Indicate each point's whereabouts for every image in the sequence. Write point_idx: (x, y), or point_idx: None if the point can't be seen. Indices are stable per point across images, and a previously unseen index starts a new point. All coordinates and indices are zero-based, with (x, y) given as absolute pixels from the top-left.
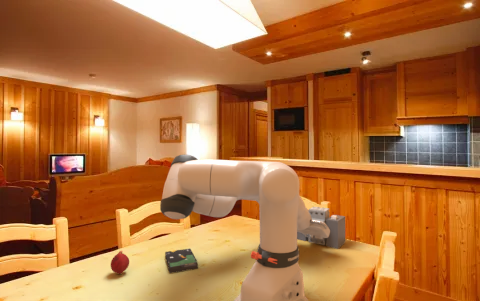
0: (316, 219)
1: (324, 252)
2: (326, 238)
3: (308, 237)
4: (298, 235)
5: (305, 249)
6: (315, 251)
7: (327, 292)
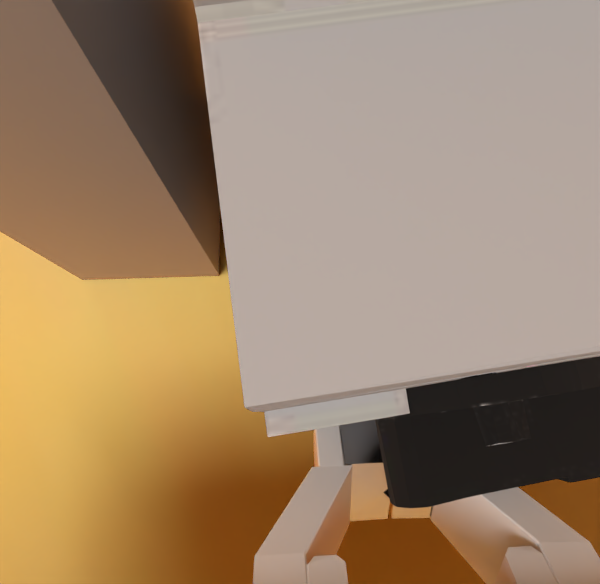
0: (559, 42)
1: None
2: None
3: (216, 181)
4: (99, 260)
5: (353, 551)
6: None
7: None
